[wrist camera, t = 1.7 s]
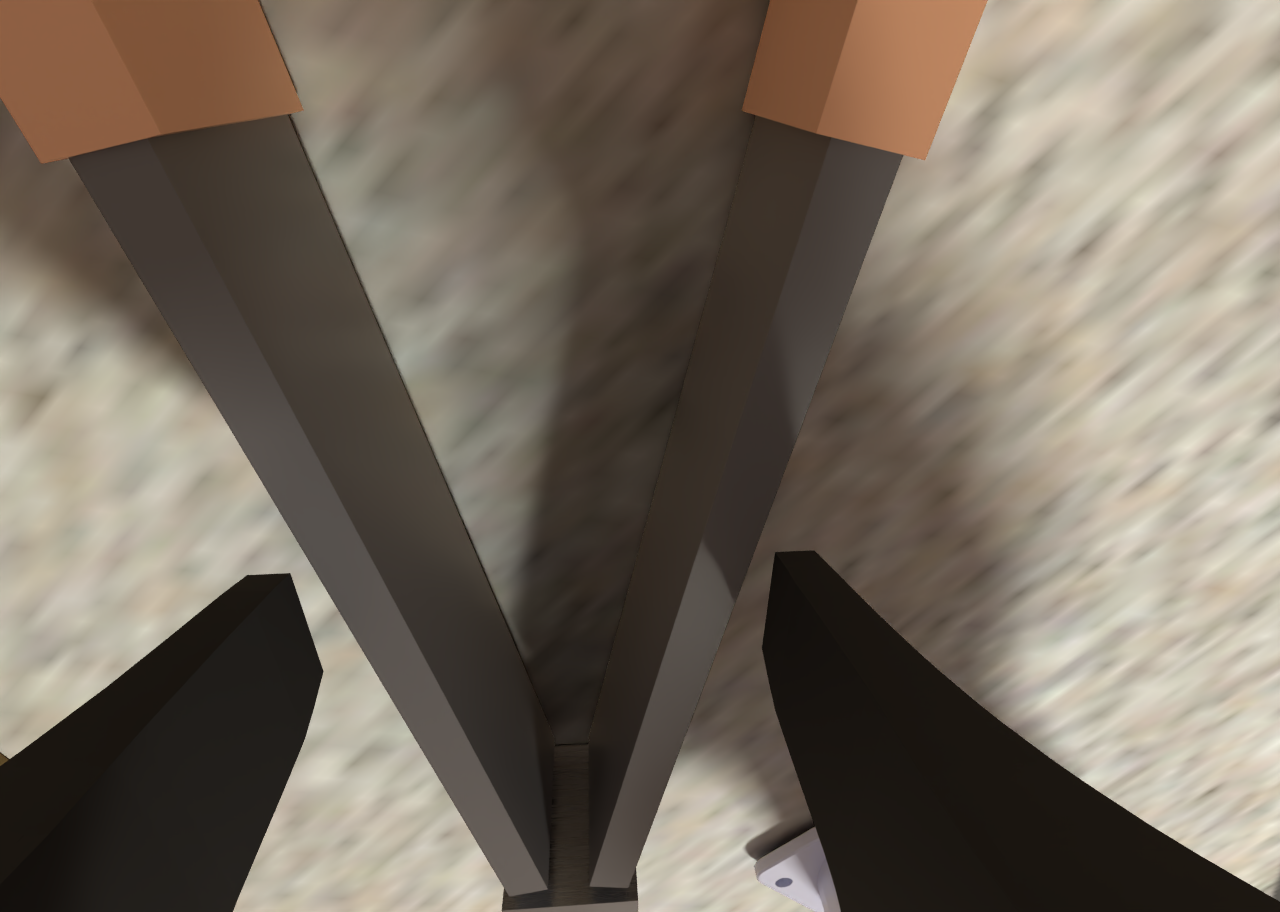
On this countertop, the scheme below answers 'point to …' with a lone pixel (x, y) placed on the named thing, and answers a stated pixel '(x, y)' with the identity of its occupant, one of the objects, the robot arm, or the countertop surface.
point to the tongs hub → (572, 848)
